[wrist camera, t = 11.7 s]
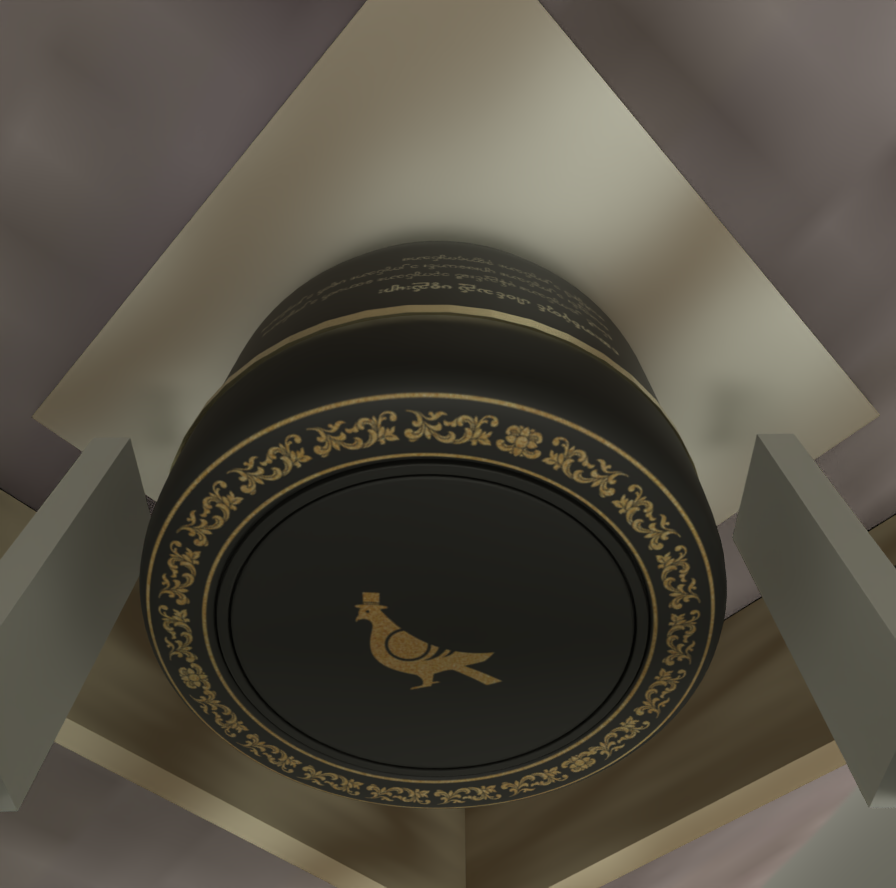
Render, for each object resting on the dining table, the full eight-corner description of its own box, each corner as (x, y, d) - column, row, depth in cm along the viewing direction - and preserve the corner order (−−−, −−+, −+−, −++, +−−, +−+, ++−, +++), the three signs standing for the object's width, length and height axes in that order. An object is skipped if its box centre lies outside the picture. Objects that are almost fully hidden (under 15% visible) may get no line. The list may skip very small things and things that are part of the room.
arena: (-161, 421, 20) (-331, 544, 16) (320, -315, 12) (251, -464, 8) (464, 805, 28) (465, 953, 24) (974, 498, 21) (1107, 633, 17)
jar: (562, 598, 22) (607, 856, 16) (217, 527, 21) (110, 775, 15) (709, 278, 17) (864, 464, 11) (267, 159, 16) (136, 286, 9)
